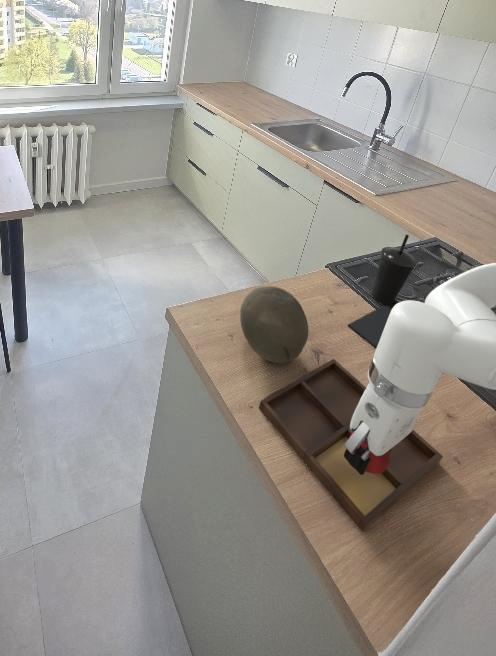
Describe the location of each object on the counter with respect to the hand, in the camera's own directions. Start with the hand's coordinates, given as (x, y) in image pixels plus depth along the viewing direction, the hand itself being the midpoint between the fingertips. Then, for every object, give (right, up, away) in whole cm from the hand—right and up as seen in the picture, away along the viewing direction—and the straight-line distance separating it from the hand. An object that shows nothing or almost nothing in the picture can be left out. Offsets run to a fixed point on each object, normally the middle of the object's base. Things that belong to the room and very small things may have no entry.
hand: (366, 454), depth 68 cm
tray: (+1, -3, +9) cm, 10 cm away
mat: (+25, +5, +29) cm, 39 cm away
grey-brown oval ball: (-7, +4, +26) cm, 27 cm away
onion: (0, -3, +1) cm, 3 cm away
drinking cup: (+29, +10, +41) cm, 52 cm away
